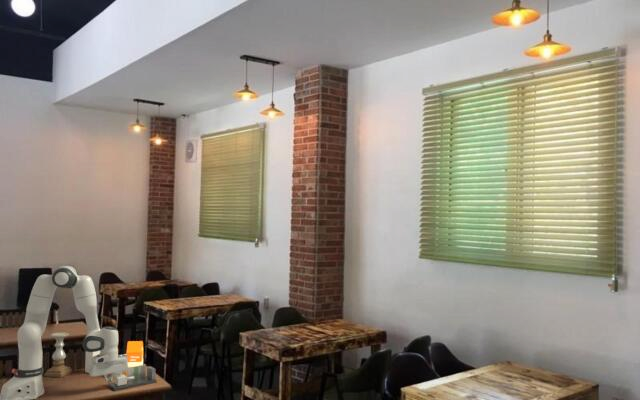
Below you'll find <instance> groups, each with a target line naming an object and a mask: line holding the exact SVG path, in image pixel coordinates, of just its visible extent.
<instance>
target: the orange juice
mask: <svg viewBox="0 0 640 400" xmlns="http://www.w3.org/2000/svg"><path fill="white" fill-rule="evenodd" d="M125 354H126V355H127V356H128V361H127V362H128V367H133V366H139V365H144V342H143V340H139V341H138V340H136V341H135V340H132V341H131V340H129V341H127V346H126V353H125Z"/></svg>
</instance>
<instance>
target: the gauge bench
mask: <svg viewBox="0 0 640 400" xmlns="http://www.w3.org/2000/svg"><path fill="white" fill-rule="evenodd" d="M125 372H128V377H132V376H134V379H132V380H128V381H127V384H124V385H119V386H118V385H116V384H115V383H114V382H115V376H119V375H125ZM113 380H114V381H113V382H108V383H107V385H108V386H107V387H109V388H110V389H111V390H113V391H114V392H117V391H122V390H127V389H131V388H136V387H137V388H138V387H141V386H147V385H151V384H157V382H158V380H157V379H156V368H155V367H153V366H150V365H148V366H147V364H145V363H143V365H139V366H133V367H128V369H127V371H123V372H117V373H114V376H113Z"/></svg>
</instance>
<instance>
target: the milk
mask: <svg viewBox="0 0 640 400" xmlns="http://www.w3.org/2000/svg"><path fill="white" fill-rule="evenodd" d="M100 353H101V350H100V351H96V352H87V351H86V350H85V361H84V362H85V365H84V368H85V369H84V373H88V374H89V370H90V365H91V363H92V362H93V361H92V357H94V356H96V355H98V354H100Z"/></svg>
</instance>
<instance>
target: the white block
mask: <svg viewBox="0 0 640 400" xmlns="http://www.w3.org/2000/svg"><path fill="white" fill-rule="evenodd" d="M132 379H134V376H132V377H127V376H125V375H119V376H115V382H114V381H113V383H115V384H116V385H118V386H119V385H124V384H127V380H132Z"/></svg>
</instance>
